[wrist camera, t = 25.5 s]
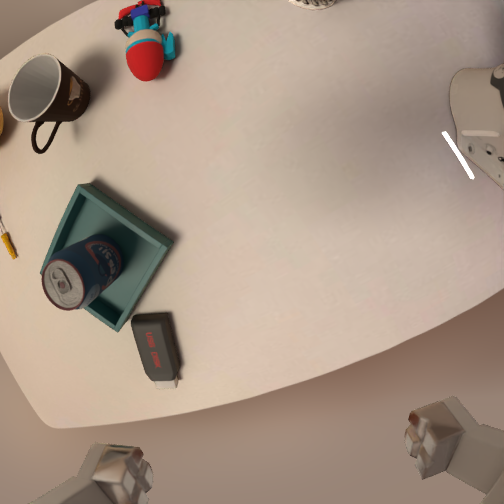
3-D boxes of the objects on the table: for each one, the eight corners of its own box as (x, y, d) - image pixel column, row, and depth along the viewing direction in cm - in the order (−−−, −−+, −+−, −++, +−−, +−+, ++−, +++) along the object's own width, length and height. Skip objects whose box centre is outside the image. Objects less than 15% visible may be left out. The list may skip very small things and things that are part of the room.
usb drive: (167, 312, 43) (163, 321, 41) (184, 380, 46) (181, 391, 43) (134, 314, 43) (128, 323, 41) (153, 381, 46) (149, 391, 44)
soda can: (135, 268, 41) (100, 302, 29) (99, 288, 42) (58, 324, 30) (111, 223, 40) (67, 242, 28) (76, 245, 40) (28, 270, 28)
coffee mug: (66, 66, 34) (29, 47, 24) (107, 82, 35) (73, 62, 26) (32, 136, 36) (-10, 133, 27) (70, 157, 38) (29, 156, 28)
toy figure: (118, 19, 34) (127, 96, 35) (109, 0, 29) (115, 80, 30) (167, 3, 34) (183, 79, 35) (161, -17, 29) (177, 60, 30)
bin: (174, 241, 41) (167, 247, 37) (125, 322, 44) (117, 332, 40) (89, 182, 39) (77, 184, 35) (51, 266, 41) (39, 273, 38)
